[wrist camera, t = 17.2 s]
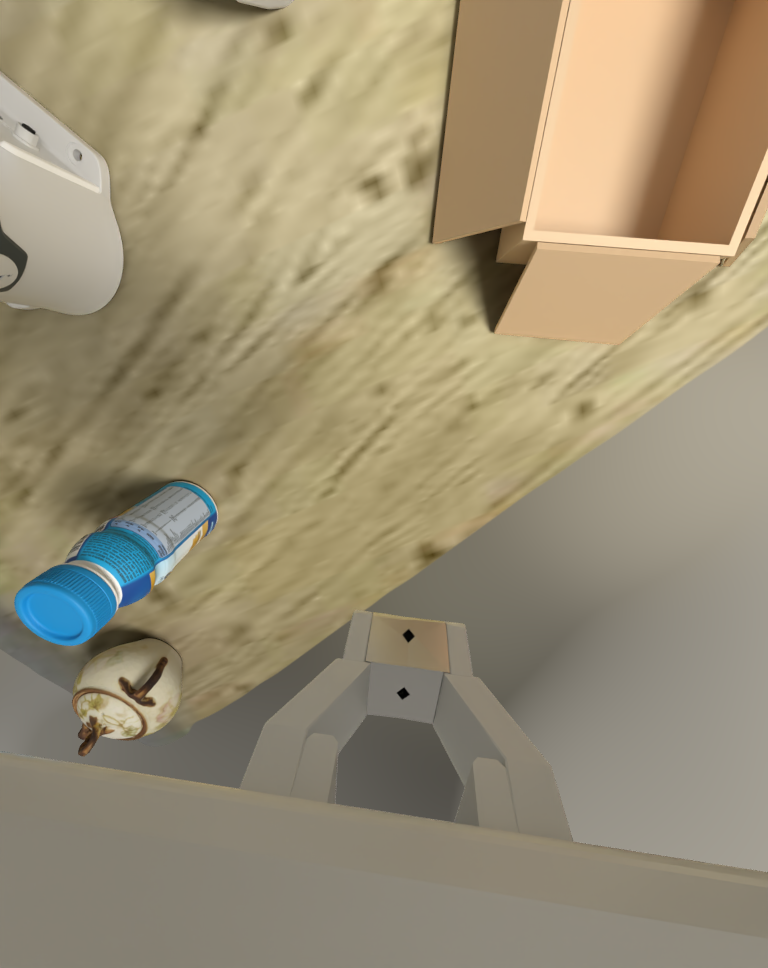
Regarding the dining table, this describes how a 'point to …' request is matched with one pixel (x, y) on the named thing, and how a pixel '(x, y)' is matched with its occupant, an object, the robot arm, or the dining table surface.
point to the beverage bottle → (116, 564)
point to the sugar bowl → (127, 692)
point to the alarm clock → (267, 3)
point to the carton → (606, 152)
